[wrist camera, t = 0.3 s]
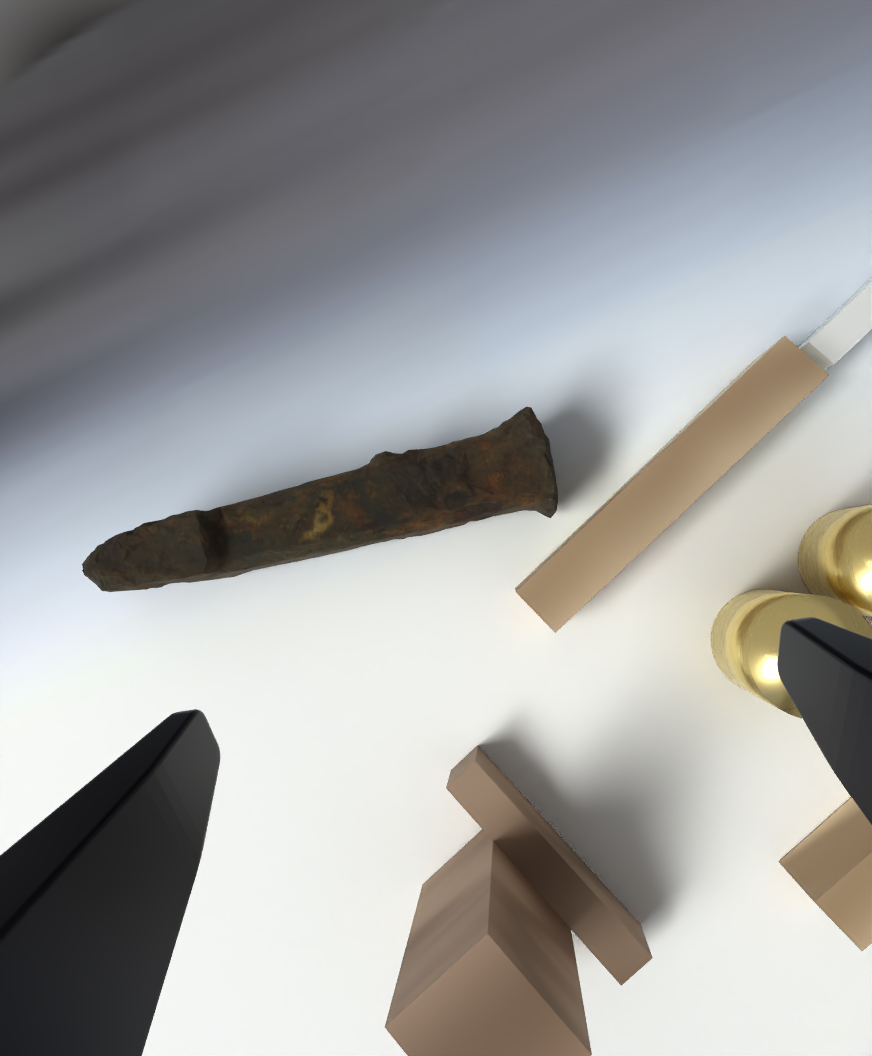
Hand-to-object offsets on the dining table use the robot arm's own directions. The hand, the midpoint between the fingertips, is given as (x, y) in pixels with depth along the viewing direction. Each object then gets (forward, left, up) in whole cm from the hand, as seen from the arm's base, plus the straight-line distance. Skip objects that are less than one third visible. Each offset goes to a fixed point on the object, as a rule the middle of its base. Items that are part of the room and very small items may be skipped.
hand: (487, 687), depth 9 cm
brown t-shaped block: (-8, +8, -14) cm, 18 cm away
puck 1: (-8, -6, -14) cm, 18 cm away
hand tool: (+7, +3, -15) cm, 17 cm away
